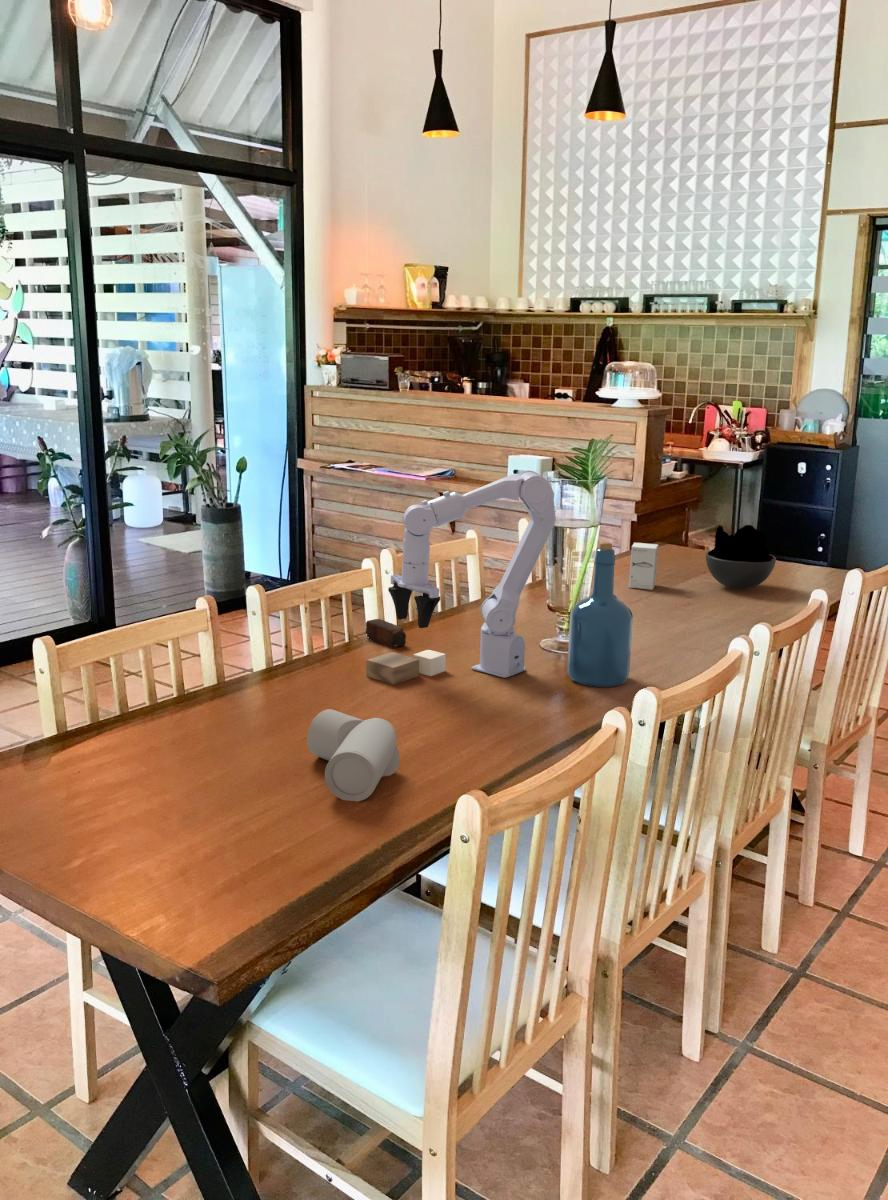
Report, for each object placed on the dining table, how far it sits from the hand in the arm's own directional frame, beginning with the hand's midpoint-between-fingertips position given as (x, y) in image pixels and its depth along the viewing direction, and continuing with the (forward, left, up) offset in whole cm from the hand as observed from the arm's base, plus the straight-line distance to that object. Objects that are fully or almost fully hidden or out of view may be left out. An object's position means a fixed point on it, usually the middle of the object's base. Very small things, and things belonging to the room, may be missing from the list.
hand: (412, 623), depth 224 cm
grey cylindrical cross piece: (-30, +49, -11) cm, 58 cm away
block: (-3, -2, -11) cm, 12 cm away
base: (+1, +6, -11) cm, 13 cm away
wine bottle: (-33, -23, -11) cm, 42 cm away
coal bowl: (-19, -124, -11) cm, 126 cm away
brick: (+19, -12, -11) cm, 25 cm away
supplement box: (+3, -106, -11) cm, 107 cm away
